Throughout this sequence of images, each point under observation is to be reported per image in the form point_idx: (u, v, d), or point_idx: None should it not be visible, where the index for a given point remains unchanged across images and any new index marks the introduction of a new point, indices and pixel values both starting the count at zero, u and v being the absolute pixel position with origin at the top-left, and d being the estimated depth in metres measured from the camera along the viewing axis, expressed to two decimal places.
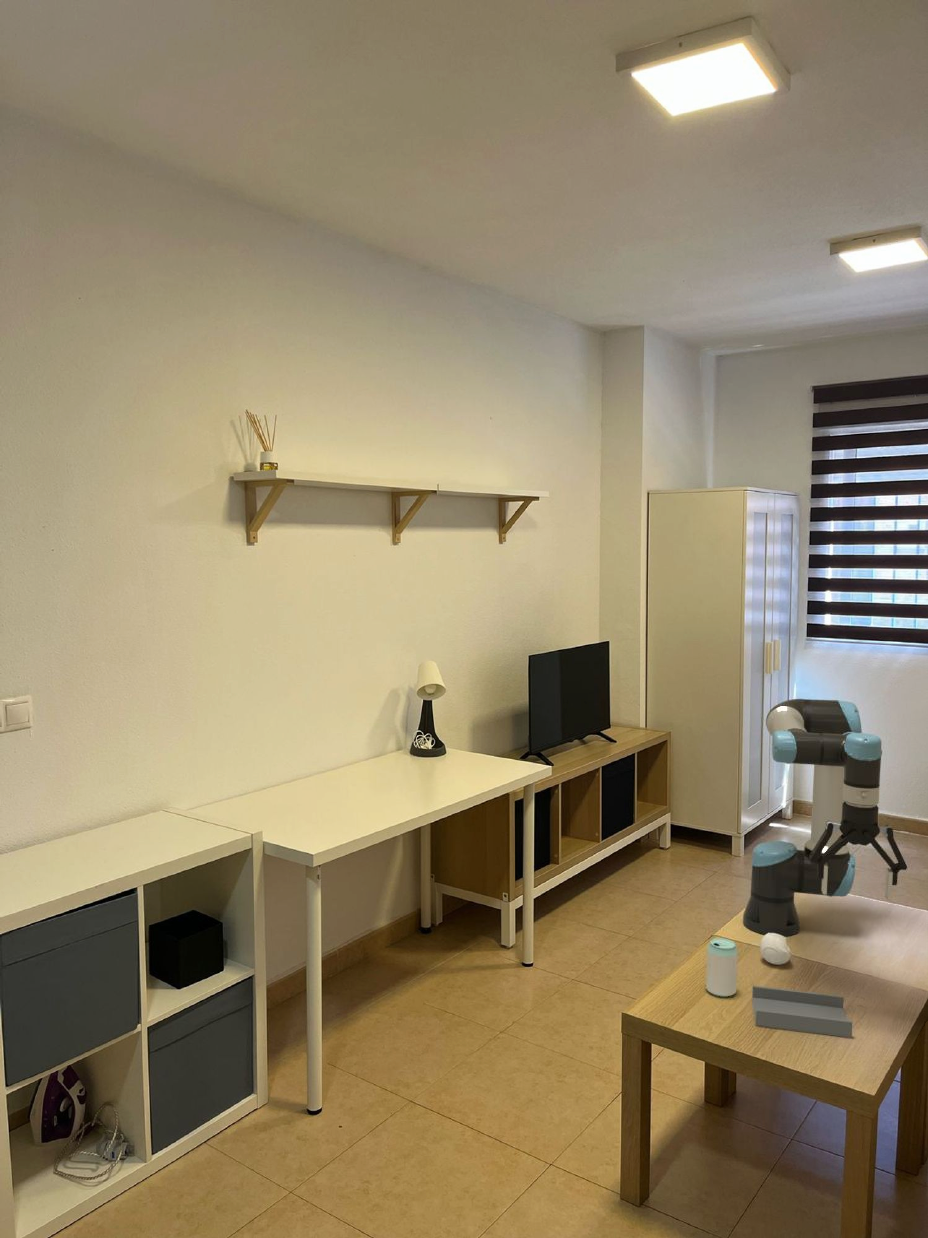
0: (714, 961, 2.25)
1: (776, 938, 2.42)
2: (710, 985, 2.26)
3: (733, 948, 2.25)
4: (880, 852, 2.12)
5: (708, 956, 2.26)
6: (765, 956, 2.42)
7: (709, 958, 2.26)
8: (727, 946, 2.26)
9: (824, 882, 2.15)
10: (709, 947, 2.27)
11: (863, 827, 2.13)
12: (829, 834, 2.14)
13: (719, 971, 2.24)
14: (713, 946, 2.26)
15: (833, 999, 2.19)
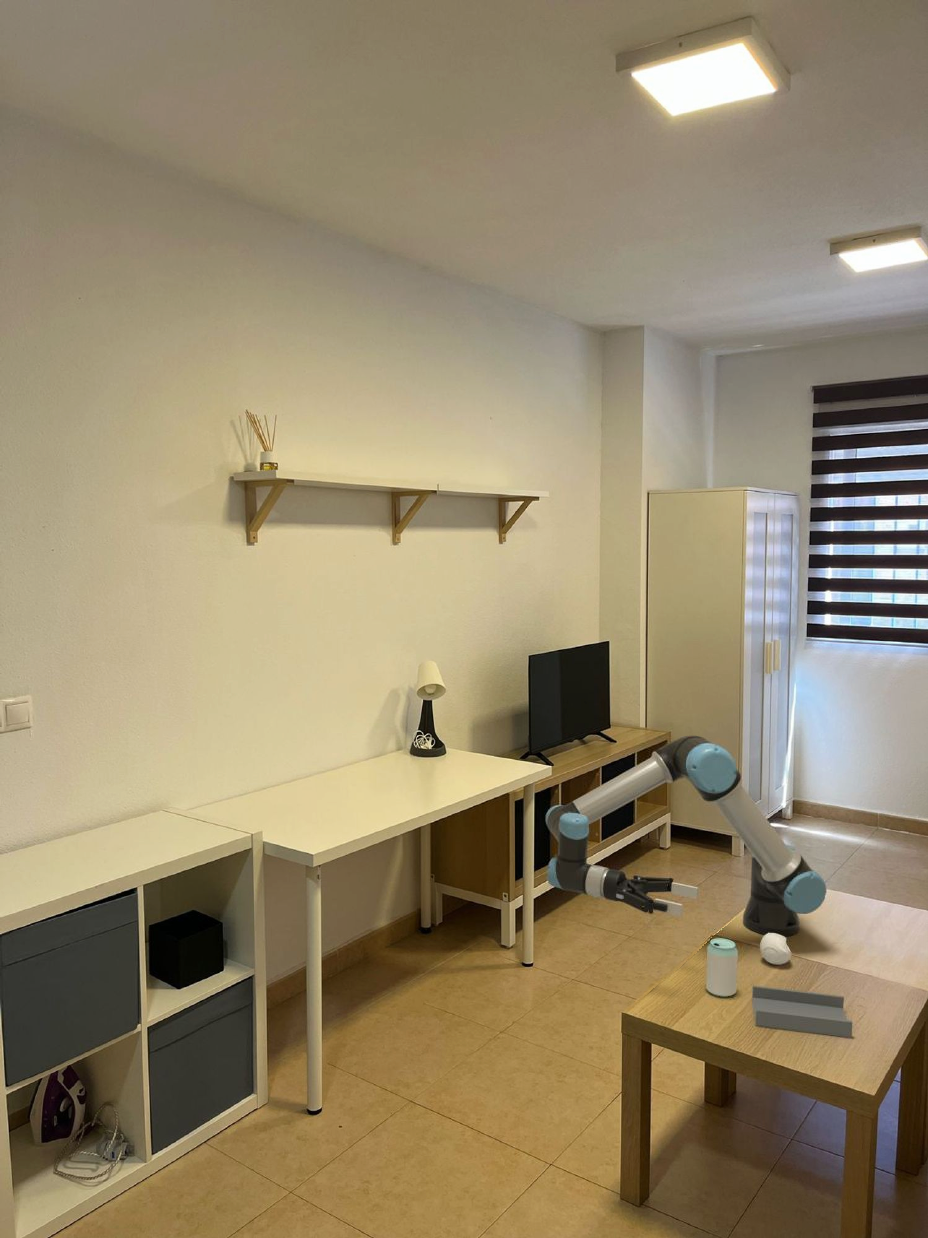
0: (714, 961, 2.25)
1: (776, 938, 2.42)
2: (710, 985, 2.26)
3: (733, 948, 2.25)
4: None
5: (708, 956, 2.26)
6: (765, 956, 2.42)
7: (709, 958, 2.26)
8: (727, 946, 2.26)
9: None
10: (709, 947, 2.27)
11: None
12: None
13: (719, 971, 2.24)
14: (713, 946, 2.26)
15: (833, 999, 2.19)
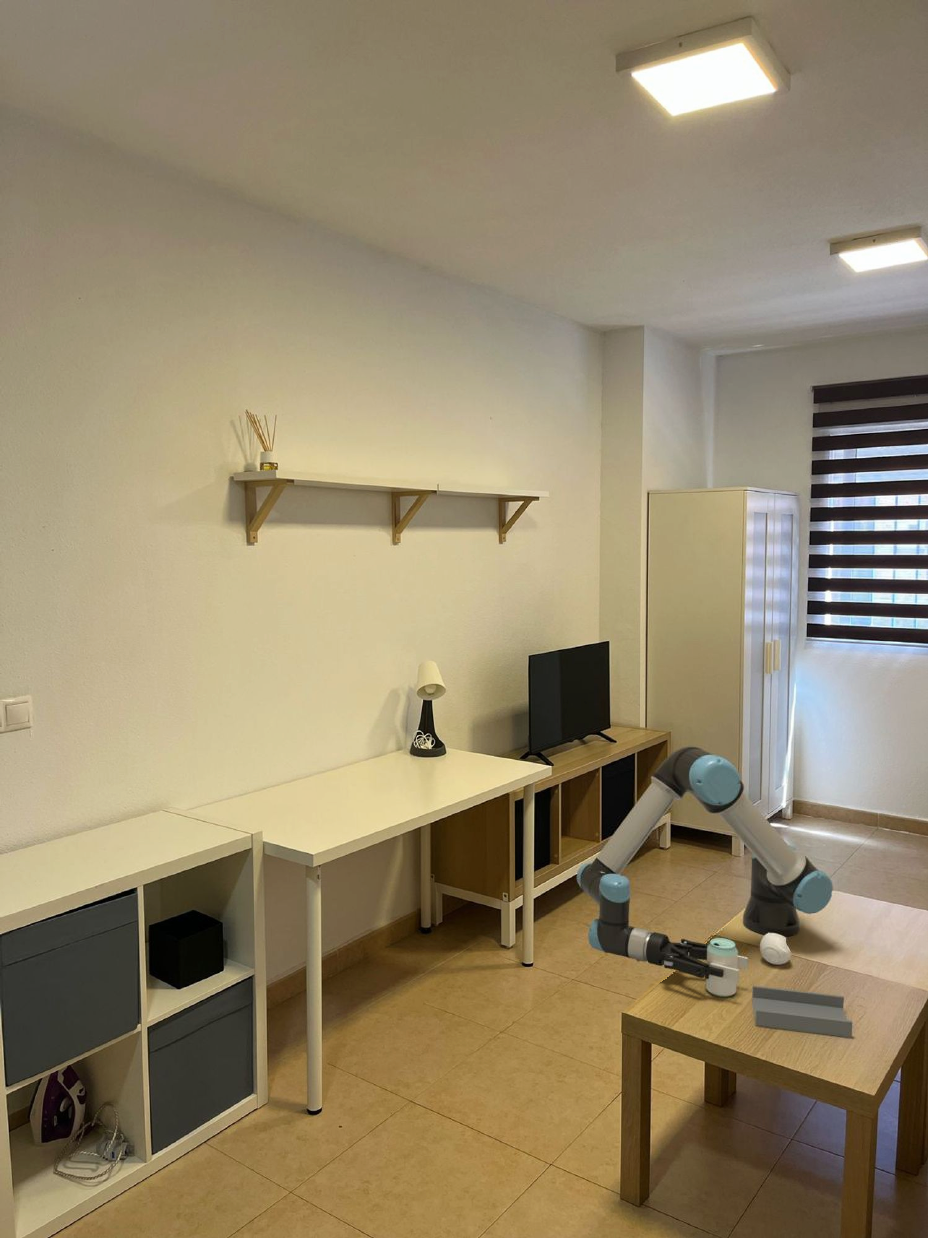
0: (714, 961, 2.25)
1: (776, 938, 2.42)
2: (710, 985, 2.26)
3: (733, 948, 2.25)
4: None
5: (708, 956, 2.26)
6: (765, 956, 2.42)
7: (709, 958, 2.26)
8: (727, 946, 2.26)
9: None
10: (709, 947, 2.27)
11: None
12: None
13: None
14: (713, 946, 2.26)
15: (833, 999, 2.19)
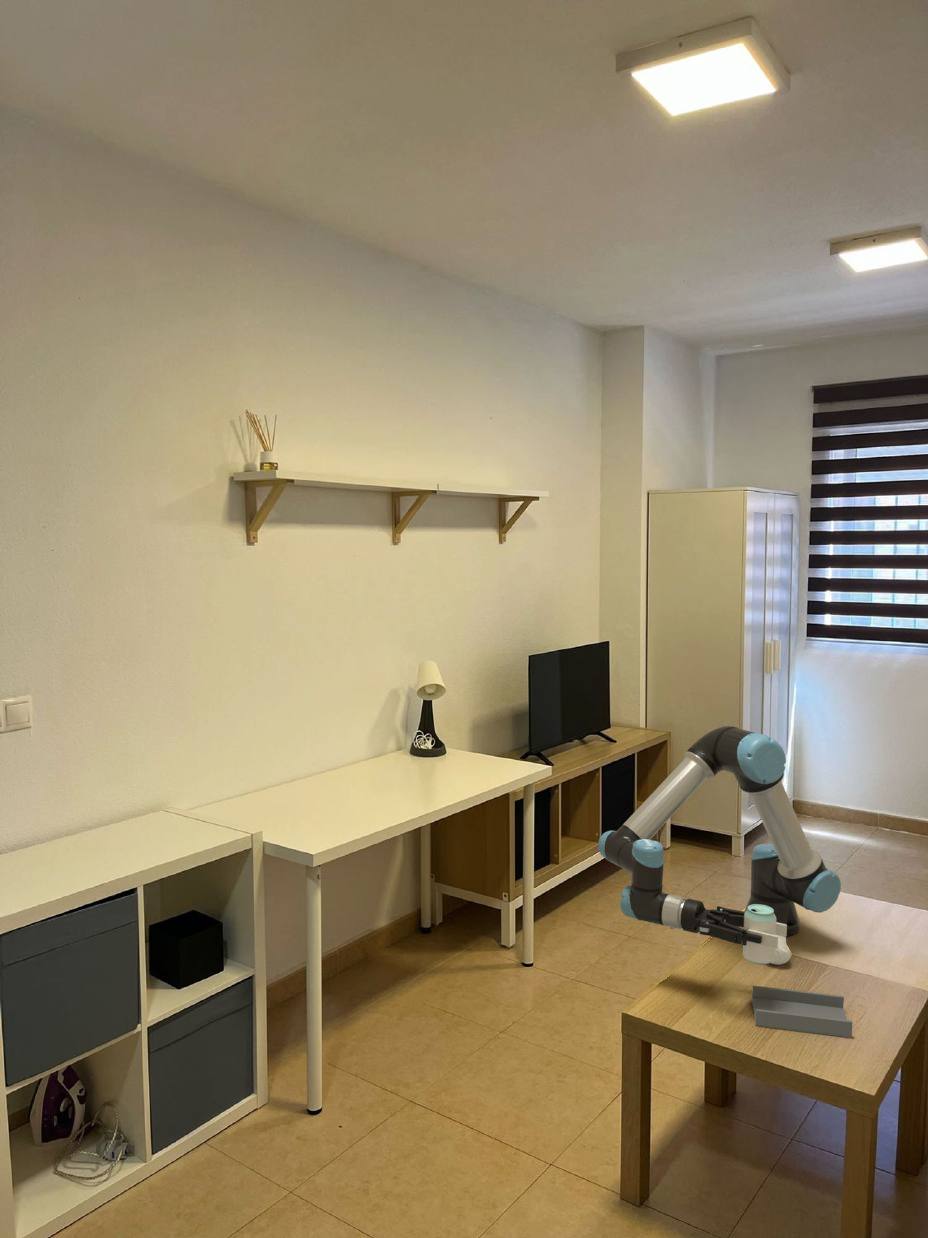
0: (752, 927, 2.17)
1: None
2: (747, 952, 2.18)
3: (771, 914, 2.17)
4: None
5: (745, 922, 2.19)
6: None
7: (746, 924, 2.18)
8: (765, 912, 2.18)
9: None
10: (746, 913, 2.19)
11: None
12: None
13: None
14: (750, 912, 2.18)
15: (833, 999, 2.19)
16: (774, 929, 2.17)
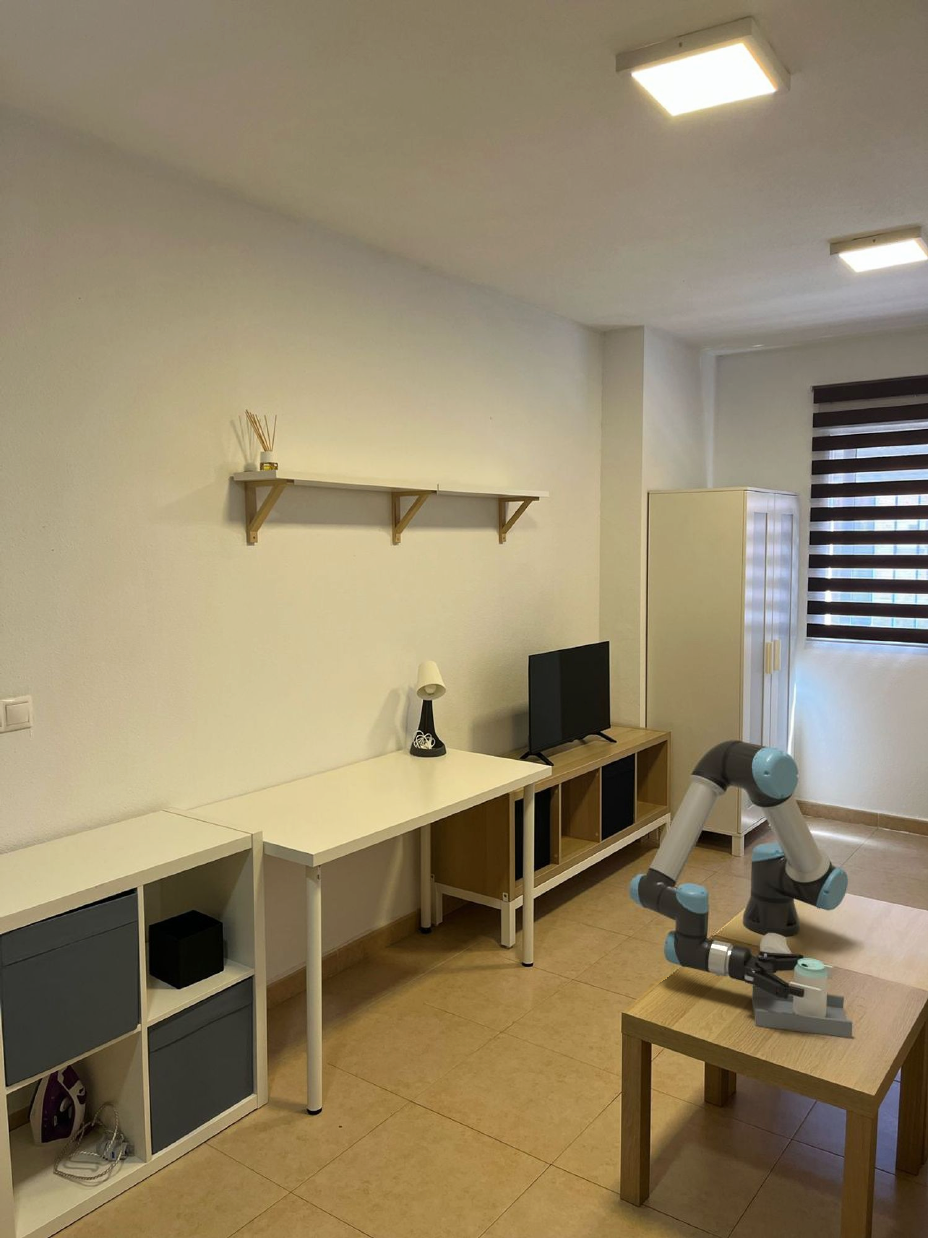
0: (803, 983, 2.12)
1: (776, 938, 2.42)
2: (798, 1009, 2.13)
3: (823, 969, 2.12)
4: None
5: (796, 977, 2.14)
6: None
7: (797, 980, 2.13)
8: (816, 967, 2.13)
9: None
10: (797, 968, 2.14)
11: None
12: None
13: None
14: (801, 967, 2.13)
15: (833, 999, 2.19)
16: (826, 985, 2.12)
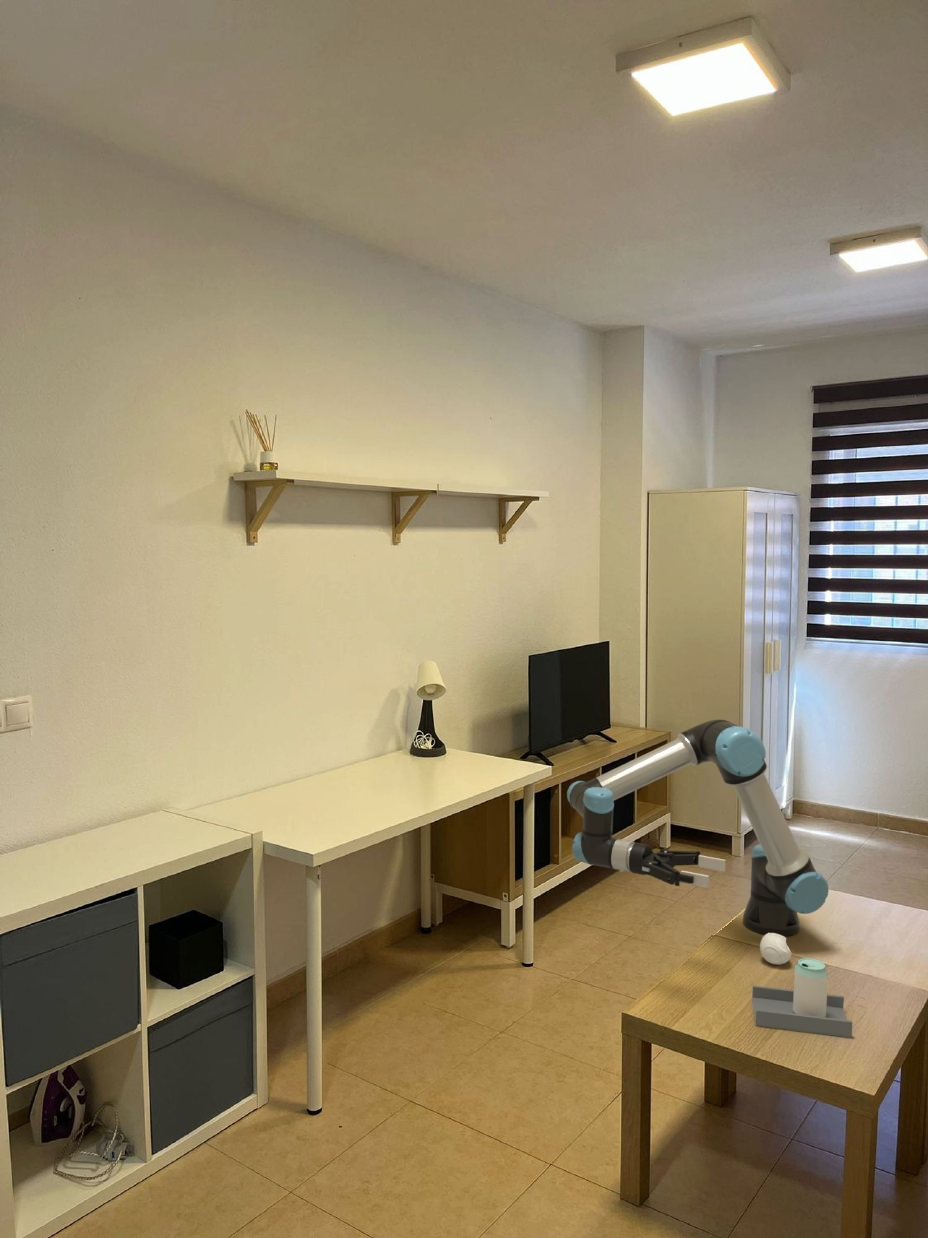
0: (804, 983, 2.12)
1: (776, 938, 2.42)
2: (798, 1009, 2.13)
3: (823, 969, 2.12)
4: None
5: (796, 977, 2.14)
6: (765, 956, 2.42)
7: (797, 980, 2.13)
8: (817, 967, 2.13)
9: None
10: (797, 968, 2.14)
11: None
12: None
13: (808, 994, 2.11)
14: (802, 967, 2.13)
15: (833, 999, 2.19)
16: (826, 985, 2.12)
